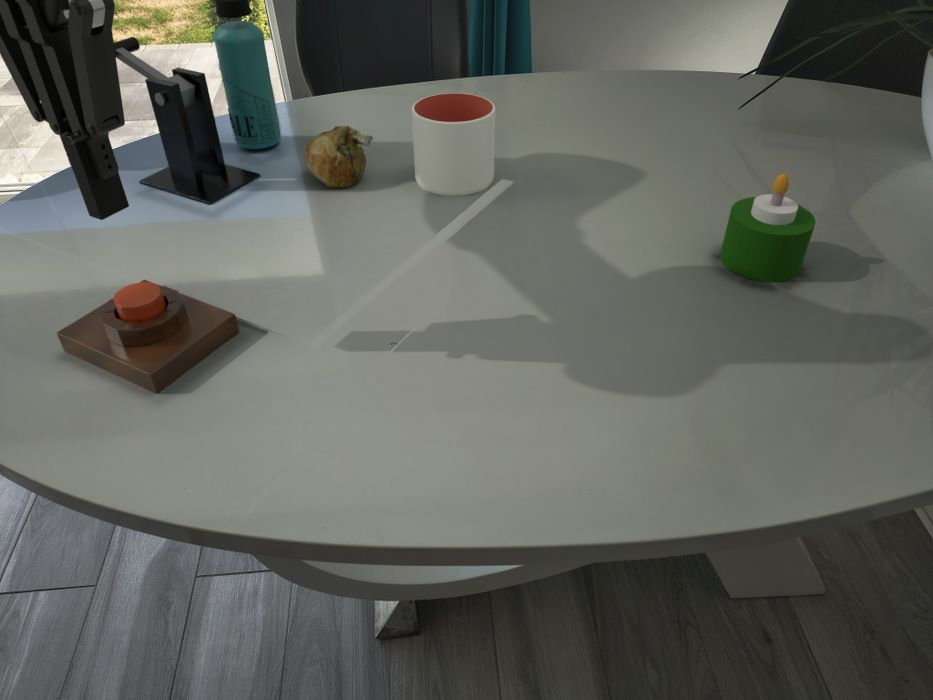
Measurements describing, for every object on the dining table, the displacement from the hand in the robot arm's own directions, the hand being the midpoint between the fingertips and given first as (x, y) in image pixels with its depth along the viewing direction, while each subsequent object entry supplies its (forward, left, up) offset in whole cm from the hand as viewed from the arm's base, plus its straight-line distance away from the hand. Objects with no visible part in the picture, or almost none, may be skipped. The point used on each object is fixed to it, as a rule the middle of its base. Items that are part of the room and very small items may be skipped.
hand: (109, 210), depth 59 cm
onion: (-5, +35, -14) cm, 38 cm away
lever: (-25, +26, -1) cm, 36 cm away
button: (0, 0, -10) cm, 10 cm away
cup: (+8, +42, -14) cm, 45 cm away
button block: (0, 0, -14) cm, 14 cm away
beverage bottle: (-21, +38, -14) cm, 46 cm away
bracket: (-20, +26, -14) cm, 36 cm away
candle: (+46, +42, -14) cm, 64 cm away
